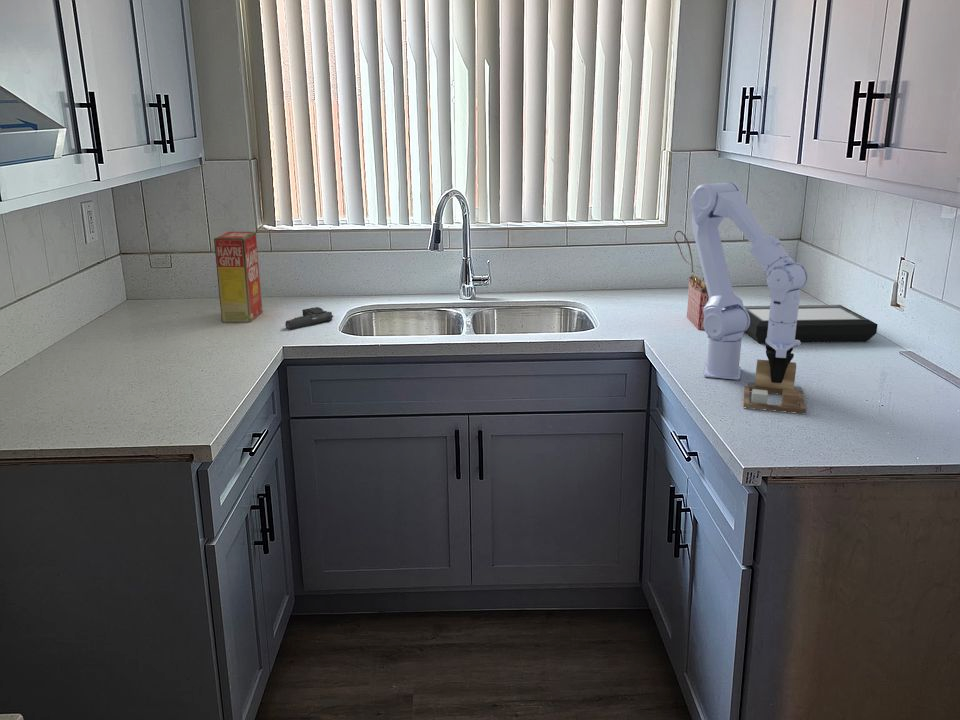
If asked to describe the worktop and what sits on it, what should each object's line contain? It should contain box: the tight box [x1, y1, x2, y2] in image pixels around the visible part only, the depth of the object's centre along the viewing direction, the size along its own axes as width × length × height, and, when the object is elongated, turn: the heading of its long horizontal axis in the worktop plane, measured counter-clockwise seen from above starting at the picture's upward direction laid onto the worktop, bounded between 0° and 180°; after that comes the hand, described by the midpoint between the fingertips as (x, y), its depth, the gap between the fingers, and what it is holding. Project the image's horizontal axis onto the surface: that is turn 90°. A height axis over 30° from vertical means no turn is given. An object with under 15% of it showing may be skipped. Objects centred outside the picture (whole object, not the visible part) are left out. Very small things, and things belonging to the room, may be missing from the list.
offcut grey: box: [750, 389, 769, 404], centre depth 169 cm, size 3×3×3 cm
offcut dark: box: [780, 389, 799, 407], centre depth 167 cm, size 3×3×4 cm
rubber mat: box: [748, 381, 803, 391], centre depth 178 cm, size 5×11×1 cm, turn 72°
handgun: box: [285, 306, 334, 331], centre depth 238 cm, size 3×16×12 cm
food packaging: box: [213, 231, 264, 323], centre depth 240 cm, size 13×9×25 cm
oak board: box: [754, 359, 797, 390], centre depth 177 cm, size 2×8×6 cm, turn 72°
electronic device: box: [743, 304, 878, 344], centre depth 220 cm, size 32×6×20 cm
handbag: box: [673, 230, 709, 331], centre depth 231 cm, size 7×21×25 cm, turn 179°
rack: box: [743, 385, 807, 414], centre depth 171 cm, size 12×12×1 cm
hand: (776, 380), depth 177 cm, fingers open, 3 cm apart
